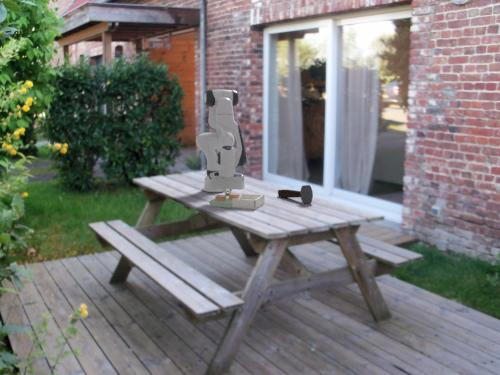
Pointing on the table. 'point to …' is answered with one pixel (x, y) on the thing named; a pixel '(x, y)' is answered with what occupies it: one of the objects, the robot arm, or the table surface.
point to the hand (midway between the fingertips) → (227, 196)
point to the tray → (248, 201)
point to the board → (222, 203)
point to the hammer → (298, 194)
